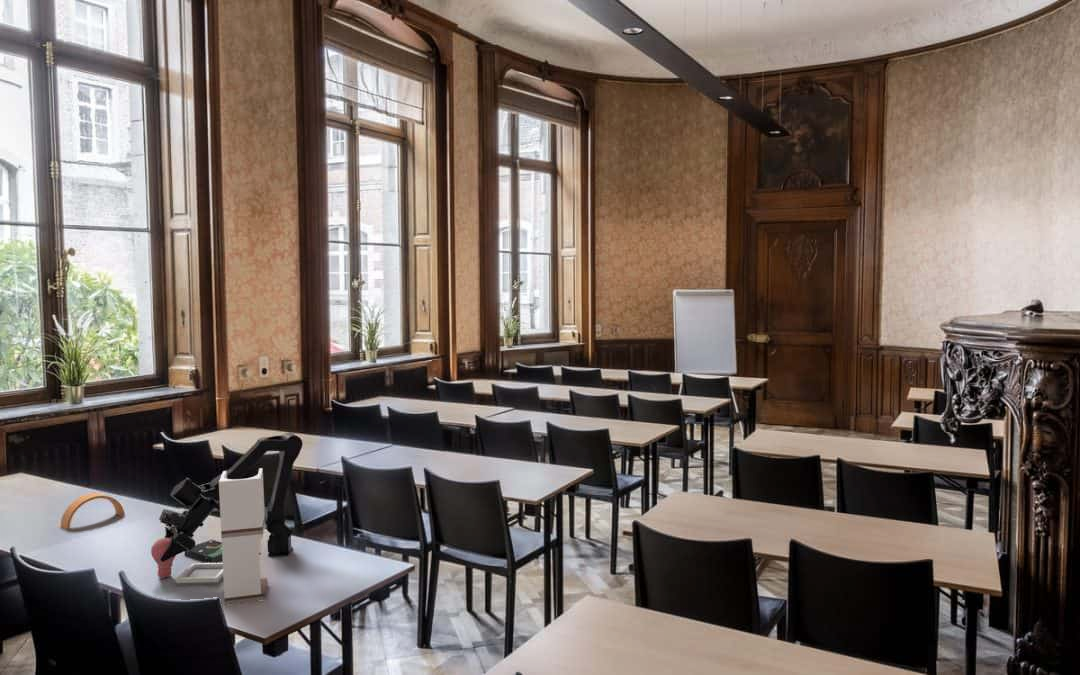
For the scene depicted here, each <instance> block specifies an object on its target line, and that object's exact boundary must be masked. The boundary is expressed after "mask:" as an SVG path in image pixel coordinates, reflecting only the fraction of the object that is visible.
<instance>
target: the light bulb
mask: <svg viewBox="0 0 1080 675" xmlns="http://www.w3.org/2000/svg"><path fill="white" fill-rule="evenodd" d="M170 544H171V539H170V538H164V537H162V538H160V539H158V540H156V541H155V542H154V543H153V545H152V546H151V550H150V553H151V554H150V555H151V557H152V558H153V560H154V561H155V563H156V564H157V568H158V569H157V577H158V578H163V579H164V578H167V577H170V576H171V575H172V567H173V563H174V560H175V558H176V556H174V557H172V558H170V559H168V560H166V561H164V562H162V561H161V560H160V559H161V557H162V556H163V554H164V553H165V551H166V550H167V548H168V547H169V545H170Z"/></svg>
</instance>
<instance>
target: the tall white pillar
mask: <svg viewBox="0 0 1080 675" xmlns="http://www.w3.org/2000/svg"><path fill="white" fill-rule="evenodd" d="M221 474H222V475H221V478H220V480H219V497H220V500H219V501H220V511H219V512H220V513H219V514H220V515H219V516H220V517H219V518H220V535H221V542H222V558H223V560H222V563H223V595H224V596H223V599H224V606H228V605H227V604H233V605H239V604H238V603H241V604H246V603H245V602H249V603H254V602H253V601H257V602H260V601H259V600H265V599H267V593H266V592H267V591H268V585H267V584H269V583H268V582H269V581H268V577H263V578H261V565H260V564H261V563H260V562H261V561H260V560H261V559H260V556H261V555H262V540H263V539H264V534H265V530H266V529H265V512H264V507H265V494H264V493H265V490H264V472H263V467H262V468H261V467H260V468H258V473H257V474H256V475H254V476H252V477H248V478H240V479H227V470H223V471H222V473H221ZM265 601H266V600H265Z"/></svg>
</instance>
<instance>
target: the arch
mask: <svg viewBox="0 0 1080 675" xmlns="http://www.w3.org/2000/svg"><path fill="white" fill-rule="evenodd" d="M97 499H104V500H108V501H109V502H110V503H111V504H112V505H113V508H114V510H115V511H114V512H115V514H116V515H117V516H121V517H124V516H125V515H126V514H125V510H124V508H123V506H122V504H121V503H120V502H119V501H118V500H117V499H116V498H113V497H112V496H109V495H106V494H103V493H98V492H93V493H88V494H87V493H86V494H83V495H82V496H79V497H76V499H75V500H73V501H72V502H71V503H70V504H69V505H68V506H67V508H65V510H64V512H63V514H62V517H61V520H60V527H61V528H62V529H65V530H66V531H69V530H70V529H71V522H72V519H73V517H74V515H75V514H76V512H77V511H79V510H78V509H80V508H81V507H82V506H83V505H84V504H87V503H88V502H90V501H93V500H97Z"/></svg>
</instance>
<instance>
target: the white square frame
mask: <svg viewBox="0 0 1080 675" xmlns="http://www.w3.org/2000/svg"><path fill="white" fill-rule="evenodd" d="M222 581H224V579H223V562H217V563H207V562H197V563H196V562H192V563H191V564H190V565H189V566H187V568H185V570H183V572H181V573H180V574H179V575H178V576H177V577H175V587H196V586H197V587H198V586H200V587H202V586H203V587H205V586H218V585H219V584H220V583H221V582H222Z"/></svg>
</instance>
